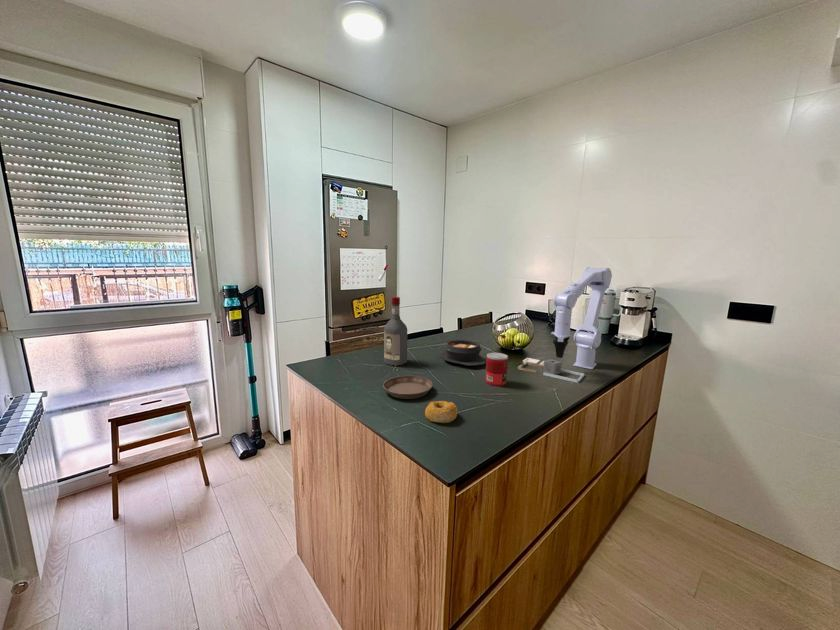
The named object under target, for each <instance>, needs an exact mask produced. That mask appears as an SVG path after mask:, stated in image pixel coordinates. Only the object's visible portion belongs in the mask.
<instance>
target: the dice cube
mask: <svg viewBox="0 0 840 630" xmlns="http://www.w3.org/2000/svg"><path fill="white" fill-rule="evenodd" d="M543 361H544V368H543V370H542V371H543V373H549V374H553V375H560V374H561V373H562V372H561V369H562V364H563V363H562V361H560V360H555V359H552V358H551V359H550V358H549V359H546V360H543Z"/></svg>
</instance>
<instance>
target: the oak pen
mask: <svg viewBox="0 0 840 630" xmlns="http://www.w3.org/2000/svg"><path fill="white" fill-rule="evenodd" d="M526 365H529V366H533V367H539V368H544V365H540V363H538V364H535V363H531V362H525V363H524V362H522V363H521V364H520V365H519V366H517V370H518V371H519V370H520V371H524V372H526V373H527V372H529V373H532V374H537V370H535V369H530V368H525V366H526Z"/></svg>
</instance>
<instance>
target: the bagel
mask: <svg viewBox="0 0 840 630" xmlns="http://www.w3.org/2000/svg"><path fill="white" fill-rule="evenodd" d="M458 411H459V410H458V408H457V406H456V404H455V403H454V402H452V401H450V402H448V401H446V400H438V401H436V400H435V401H430V402H429V403H428V404H427V406H426V408H425V411H424V417H425V418H426V419H427V420H429V421H430V422H433V423H439V424H449V423H451V422H453V421H454V420H456V419H457V417H458Z"/></svg>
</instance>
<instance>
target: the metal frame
mask: <svg viewBox="0 0 840 630" xmlns="http://www.w3.org/2000/svg"><path fill="white" fill-rule="evenodd" d="M561 373H567V374H571V375H576V376H579V377H578V379H575V378H572V377H571V378H570V377H566V376H561V375H559V374H557V375H553V374H549V373H545V372H543V373H542V374H543V376H546V377H550V378H555V379H559V380H562V381H563V380H564V381H569V382H571V383H572V382H573V383H580V381H582V379H583V378H584V377H585V373H584V372H578V371H575V370H574V371H573V370H570V369H564V368H561Z"/></svg>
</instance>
